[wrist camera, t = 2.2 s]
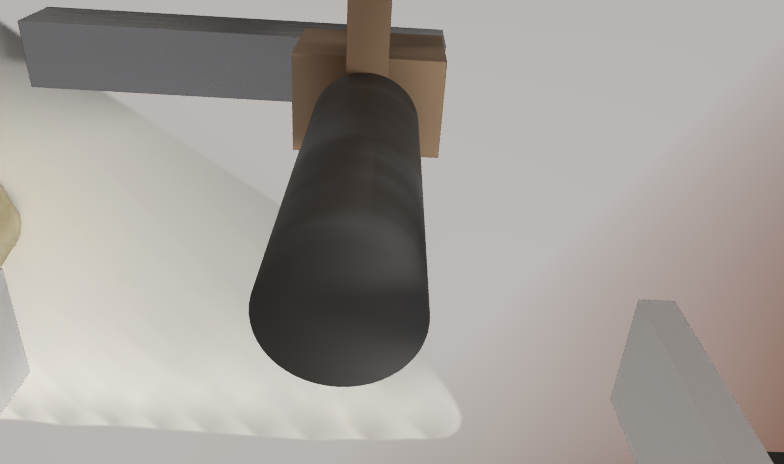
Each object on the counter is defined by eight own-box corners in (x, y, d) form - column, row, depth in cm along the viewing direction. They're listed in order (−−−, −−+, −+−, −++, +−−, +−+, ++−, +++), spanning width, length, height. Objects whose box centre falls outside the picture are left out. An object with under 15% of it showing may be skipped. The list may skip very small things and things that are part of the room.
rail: (442, 30, 33) (445, 45, 31) (436, 90, 35) (439, 110, 32) (48, 7, 33) (17, 20, 30) (59, 68, 34) (31, 86, 32)
